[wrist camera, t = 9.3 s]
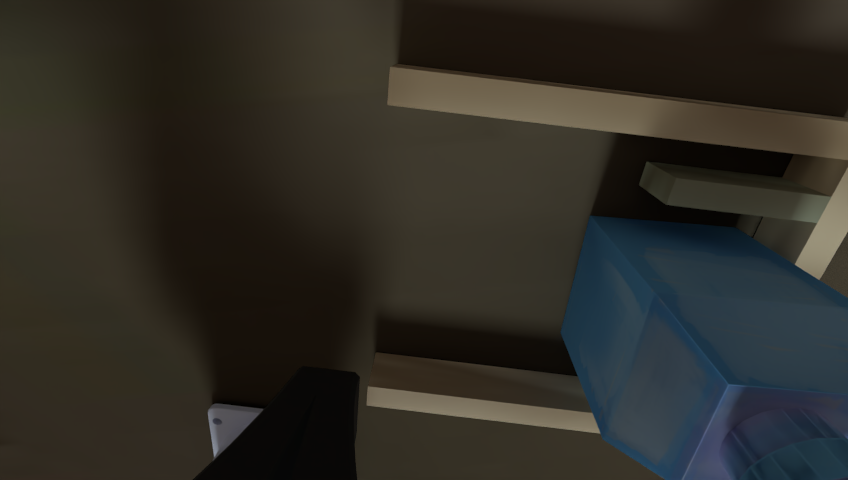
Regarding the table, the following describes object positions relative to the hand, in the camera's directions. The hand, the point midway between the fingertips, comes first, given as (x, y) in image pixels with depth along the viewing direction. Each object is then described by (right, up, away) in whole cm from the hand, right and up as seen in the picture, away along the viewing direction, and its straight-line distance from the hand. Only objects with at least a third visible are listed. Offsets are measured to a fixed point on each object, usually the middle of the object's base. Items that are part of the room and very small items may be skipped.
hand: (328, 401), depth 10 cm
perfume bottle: (+12, +2, +10) cm, 16 cm away
